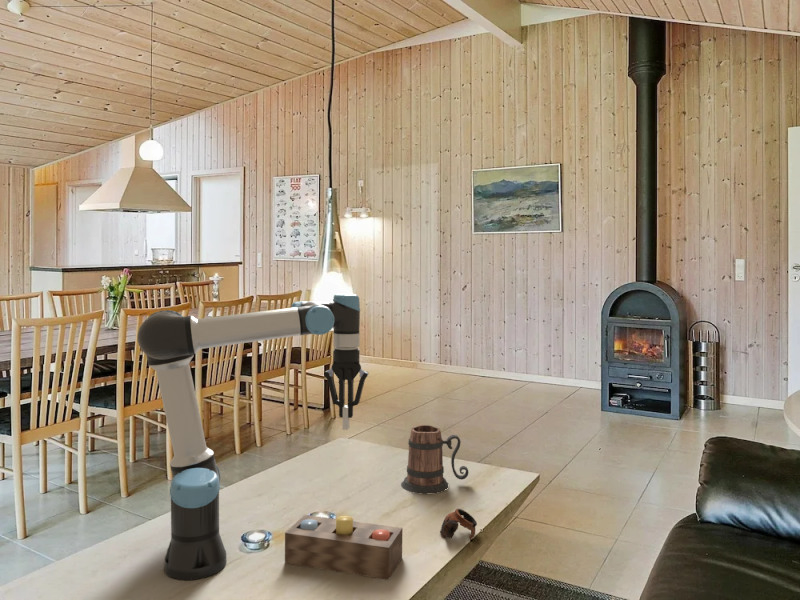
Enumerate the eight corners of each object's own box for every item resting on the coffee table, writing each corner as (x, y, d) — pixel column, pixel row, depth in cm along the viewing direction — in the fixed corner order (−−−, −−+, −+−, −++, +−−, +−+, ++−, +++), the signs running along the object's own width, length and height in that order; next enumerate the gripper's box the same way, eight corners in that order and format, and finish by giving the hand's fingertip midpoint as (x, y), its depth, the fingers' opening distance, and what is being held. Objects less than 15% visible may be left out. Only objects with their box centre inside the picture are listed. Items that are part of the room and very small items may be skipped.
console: (284, 563, 162) (284, 532, 161) (304, 543, 173) (304, 514, 173) (388, 579, 154) (389, 547, 154) (402, 557, 166) (402, 527, 165)
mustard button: (333, 538, 162) (333, 521, 162) (339, 531, 166) (339, 514, 166) (349, 540, 161) (349, 523, 160) (355, 533, 165) (355, 516, 165)
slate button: (297, 541, 165) (297, 524, 165) (304, 534, 169) (304, 518, 169) (313, 543, 164) (313, 527, 163) (320, 536, 168) (320, 520, 168)
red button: (369, 552, 159) (370, 535, 159) (375, 545, 164) (375, 528, 163) (386, 555, 158) (386, 537, 158) (391, 547, 162) (391, 530, 162)
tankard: (401, 493, 211) (402, 435, 210) (400, 476, 228) (401, 422, 226) (471, 494, 211) (472, 435, 210) (465, 477, 228) (466, 422, 227)
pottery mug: (445, 527, 186) (459, 504, 186) (469, 549, 181) (484, 525, 181) (428, 531, 176) (443, 507, 175) (453, 555, 171) (469, 530, 170)
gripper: (370, 346, 184) (370, 426, 185) (327, 345, 185) (326, 424, 187) (366, 350, 176) (366, 433, 178) (321, 348, 178) (320, 431, 179)
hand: (346, 428), depth 182 cm, fingers closed
